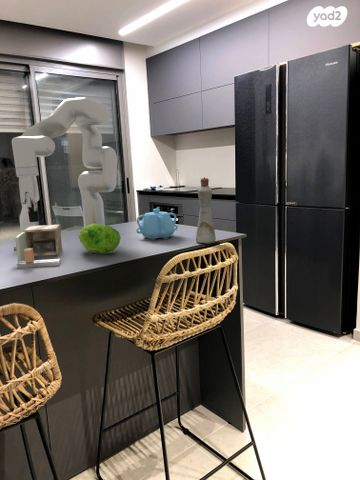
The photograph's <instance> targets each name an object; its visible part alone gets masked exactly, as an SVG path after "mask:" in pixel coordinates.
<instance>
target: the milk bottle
mask: <svg viewBox="0 0 360 480" xmlns="http://www.w3.org/2000/svg"><path fill="white" fill-rule="evenodd" d="M29 226H39V221H38V222H30V221H29V215H28V208H27V203H25V204H21V211H20V214H19V228H20V229H19V230H20V234H21V233H22V232H23V231H24V230H25V229H27V228H28V227H29Z"/></svg>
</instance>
